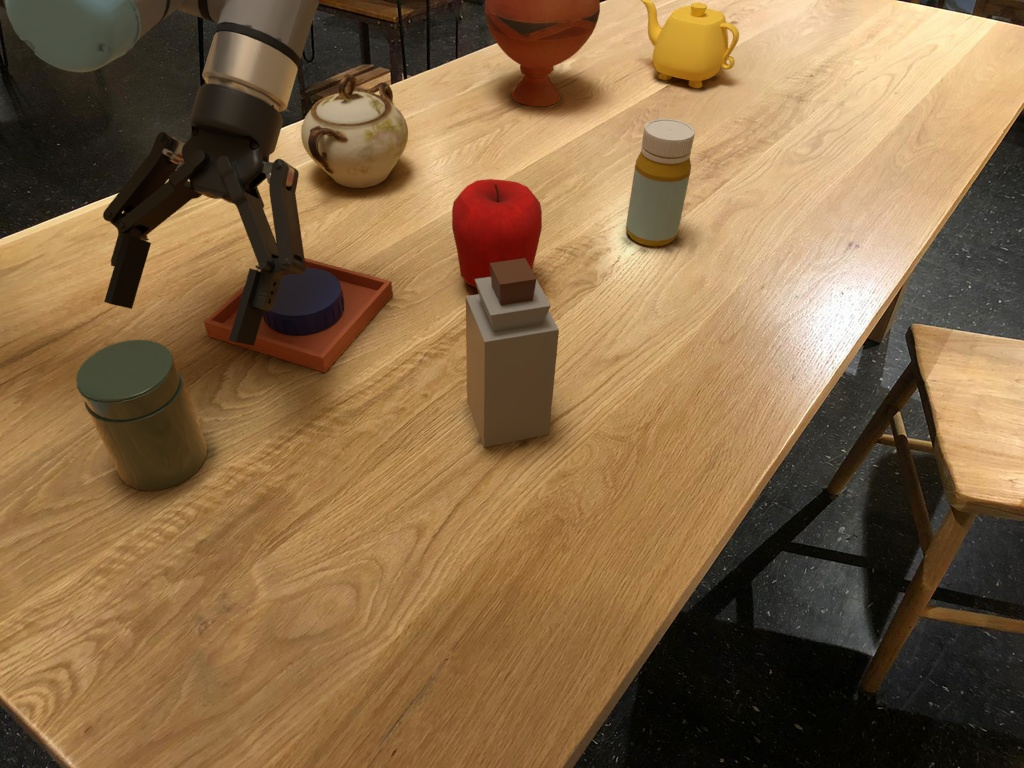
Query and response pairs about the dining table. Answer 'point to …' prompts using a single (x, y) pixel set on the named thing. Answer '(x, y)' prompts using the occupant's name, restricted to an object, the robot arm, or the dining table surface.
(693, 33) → the teapot
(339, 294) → the lid
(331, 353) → the tray
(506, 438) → the perfume bottle
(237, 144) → the robot arm
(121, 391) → the jar
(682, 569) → the dining table surface
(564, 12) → the goblet
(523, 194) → the apple
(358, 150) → the sugar bowl
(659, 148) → the bottle
